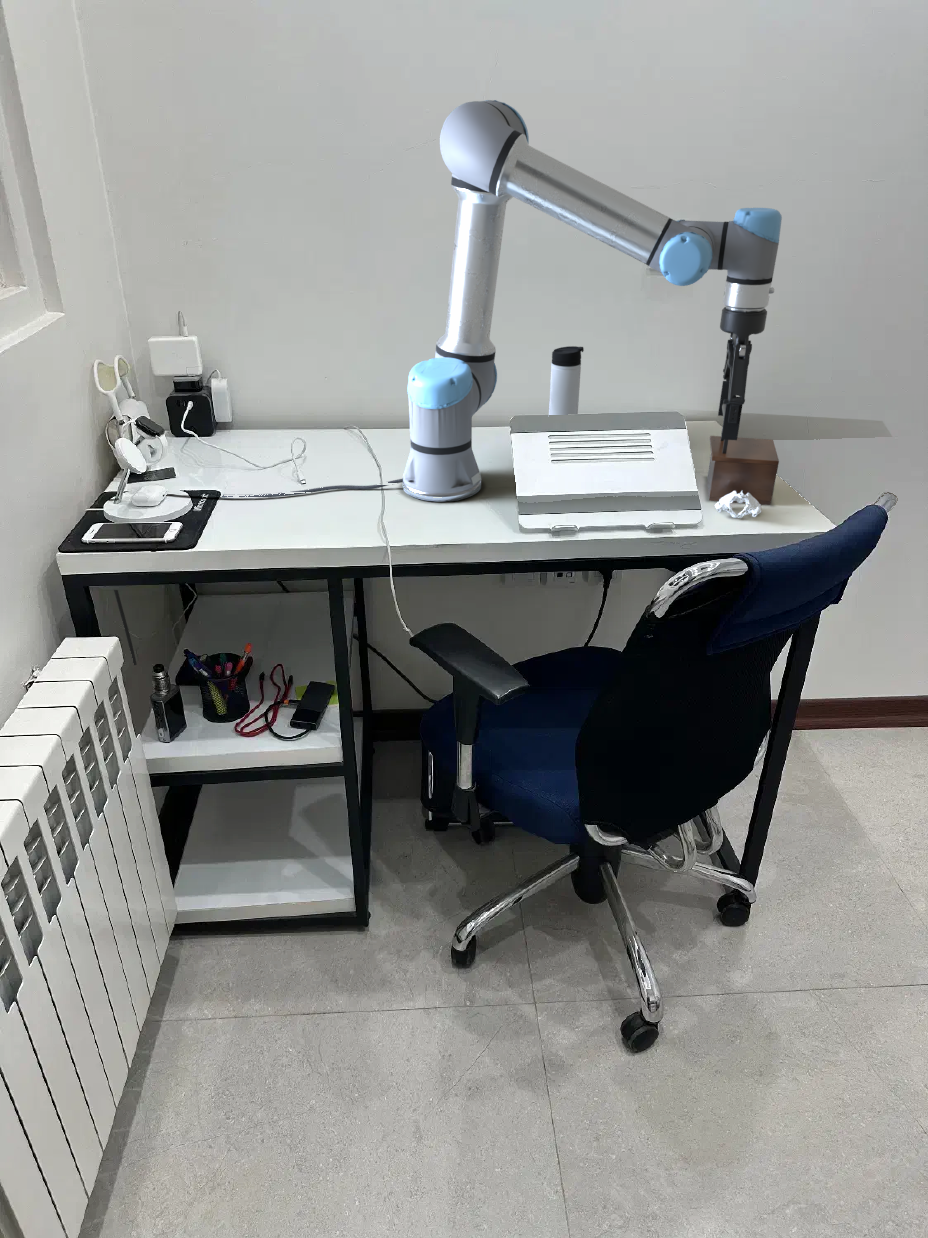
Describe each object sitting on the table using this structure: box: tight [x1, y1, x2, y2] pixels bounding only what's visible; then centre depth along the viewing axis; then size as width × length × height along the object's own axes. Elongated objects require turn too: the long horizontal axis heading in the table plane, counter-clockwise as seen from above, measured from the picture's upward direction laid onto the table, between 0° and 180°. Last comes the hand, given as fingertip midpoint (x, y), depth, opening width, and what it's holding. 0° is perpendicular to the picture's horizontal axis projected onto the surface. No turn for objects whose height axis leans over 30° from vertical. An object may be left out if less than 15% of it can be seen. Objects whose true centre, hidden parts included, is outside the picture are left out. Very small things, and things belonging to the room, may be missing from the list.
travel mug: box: [548, 345, 585, 416], centre depth 186 cm, size 6×7×20 cm
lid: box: [709, 404, 780, 466], centre depth 159 cm, size 12×12×8 cm
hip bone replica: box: [714, 491, 762, 519], centre depth 155 cm, size 8×4×7 cm
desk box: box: [706, 454, 779, 506], centre depth 164 cm, size 11×12×8 cm
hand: (727, 427), depth 160 cm, fingers open, 13 cm apart
